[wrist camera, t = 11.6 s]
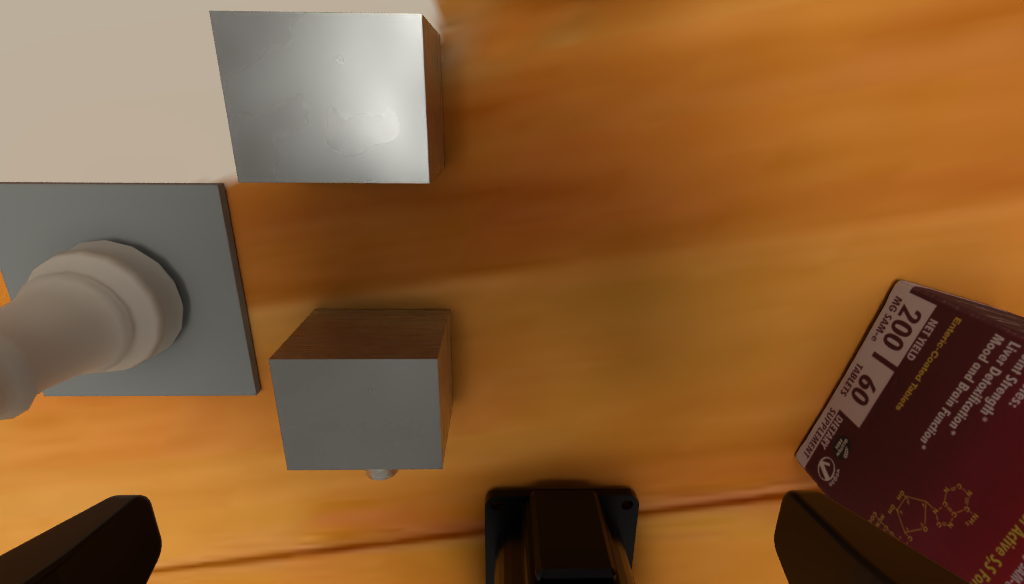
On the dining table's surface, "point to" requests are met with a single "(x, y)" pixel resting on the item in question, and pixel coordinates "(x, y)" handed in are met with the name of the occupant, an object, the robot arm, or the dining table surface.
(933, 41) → the dining table surface
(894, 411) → the supplement box
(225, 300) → the mat
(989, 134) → the dining table surface
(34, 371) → the rook chess piece
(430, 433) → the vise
